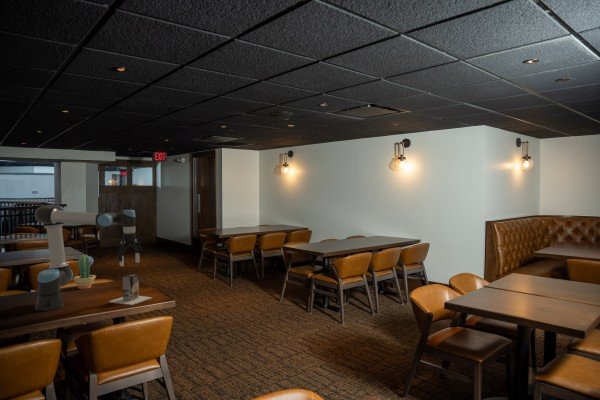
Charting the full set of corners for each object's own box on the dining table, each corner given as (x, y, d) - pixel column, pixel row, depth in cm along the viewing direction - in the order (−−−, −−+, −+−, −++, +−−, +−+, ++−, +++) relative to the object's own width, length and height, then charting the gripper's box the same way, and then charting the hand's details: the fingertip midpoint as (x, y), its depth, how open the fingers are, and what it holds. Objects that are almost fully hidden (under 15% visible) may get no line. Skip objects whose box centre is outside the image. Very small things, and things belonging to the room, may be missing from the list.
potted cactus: (80, 290, 296) (79, 257, 296) (69, 288, 304) (68, 255, 304) (100, 286, 309) (99, 254, 309) (88, 284, 318) (88, 252, 317)
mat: (108, 302, 264) (108, 301, 264) (129, 295, 281) (129, 294, 281) (132, 305, 257) (132, 304, 257) (152, 298, 274) (152, 297, 274)
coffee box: (131, 301, 264) (131, 277, 264) (122, 300, 265) (122, 276, 265) (139, 297, 273) (138, 274, 273) (130, 297, 274) (130, 274, 274)
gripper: (139, 230, 282) (139, 260, 282) (110, 234, 259) (110, 267, 259) (147, 231, 279) (147, 261, 280) (118, 234, 256) (119, 267, 257)
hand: (129, 264), depth 269 cm, fingers open, 13 cm apart
